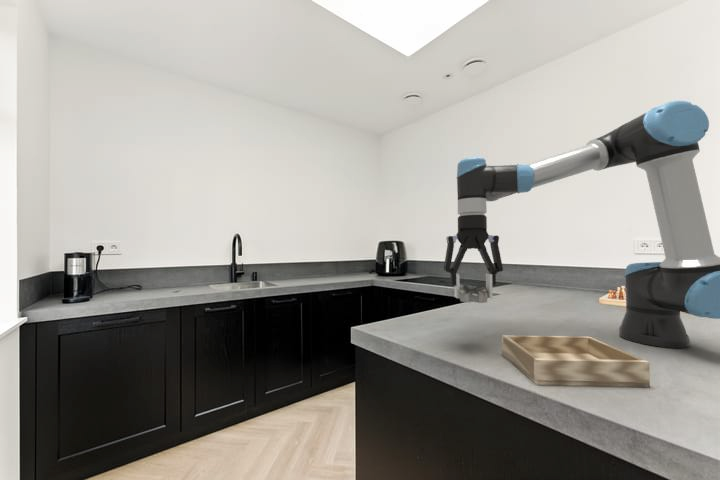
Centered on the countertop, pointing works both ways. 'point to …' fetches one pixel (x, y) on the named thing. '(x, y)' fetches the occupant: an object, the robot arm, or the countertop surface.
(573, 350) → the tray
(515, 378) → the countertop surface
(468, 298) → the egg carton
